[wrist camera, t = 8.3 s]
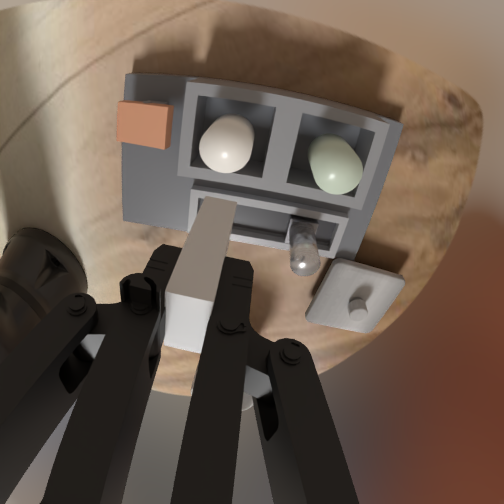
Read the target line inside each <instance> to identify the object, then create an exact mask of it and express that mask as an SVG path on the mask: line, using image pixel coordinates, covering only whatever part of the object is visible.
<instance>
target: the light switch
mask: <svg viewBox="0 0 504 504" xmlns="http://www.w3.org/2000/svg"><path fill="white" fill-rule="evenodd" d="M404 285H405V280H404V278H403V276H402V275H399V274H396V273H392V272H389V271H386V270H382V269H379V268H375V267H372V266H368V265H364V264H361V263H357V262H353V261H350V260H346V259H343V258H337V259H335V260H334V261H333V262H332V264H331V266H330V268H329V269H328V271H327V273H326V275H325V277H324V279H323V281H322V283H321V285H320V287H319V288H318V290H317V292H316V294H315V296H314V298H313V300H312V301H311V303H310V305H309V307H308V309H307V311H306V312H305V317H306V320H307V321H308V322H311V323H316V324H320V325H325V326H330V327H336V328H341V329H346V330H351V331H357V332H362V333H369V332H371V331H372V330H373V329H374V327H375V326H376V325H377V323H378V322H379V321H380V319H381V318H382V317H383V315H384V314H385V312H386V311H387V310H388V308H389V307H390V305H391V304H392V303H393V301H394V300H395V298H396V297H397V295H398V294H399V293H400V291H401V290H402V288H403V287H404Z"/></svg>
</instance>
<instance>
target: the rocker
mask: <svg viewBox="0 0 504 504" xmlns="http://www.w3.org/2000/svg"><path fill="white" fill-rule="evenodd" d="M173 111H174V106H173V105H166V104H158V103H152V101H143V102H140V101H130V100H123V101H119V102H118V114H117V141H120V142H126V143H131V144H137V145H142V146H148V147H153V148H158V149H163V150H165V149H167V148H169V147H170V144H171V132H172V121H173Z"/></svg>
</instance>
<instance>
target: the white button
mask: <svg viewBox="0 0 504 504" xmlns="http://www.w3.org/2000/svg"><path fill="white" fill-rule="evenodd" d="M254 137H255V133H254V129H253V126H252V124H251V123H250V122H249V120H248V119H246V118H245V117H243V116H241V115H239V114H233V113H230V114H225V115H222V116H220V117H219V118H217V119H216V120H215V121H214V122H213V124H212V125H211V126H210V127H209V128H208V130H207V131H206V132H205V133H204V135H203V136H202V138H201V140H200V145H199V151H200V155H201V158H202V160H203V161H204V163H205V164H206V165H207V166H208V167H209V168H211V169H212V170H214V171H217V172H220V173H232V172H235V171H238V170H240V169H241V168H243V167H244V166H245V165H246V163H247V162H248V161H249V159H250V156H251V152H252V147H253V142H254Z"/></svg>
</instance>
